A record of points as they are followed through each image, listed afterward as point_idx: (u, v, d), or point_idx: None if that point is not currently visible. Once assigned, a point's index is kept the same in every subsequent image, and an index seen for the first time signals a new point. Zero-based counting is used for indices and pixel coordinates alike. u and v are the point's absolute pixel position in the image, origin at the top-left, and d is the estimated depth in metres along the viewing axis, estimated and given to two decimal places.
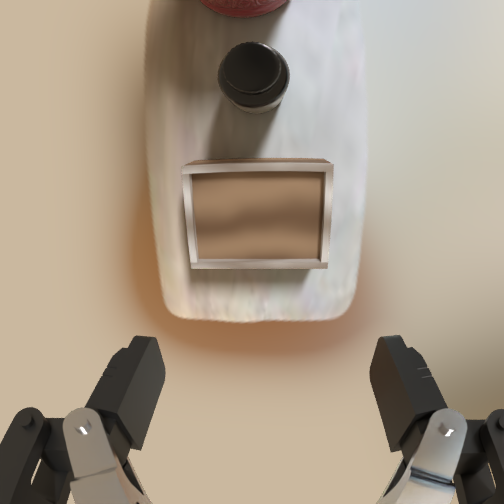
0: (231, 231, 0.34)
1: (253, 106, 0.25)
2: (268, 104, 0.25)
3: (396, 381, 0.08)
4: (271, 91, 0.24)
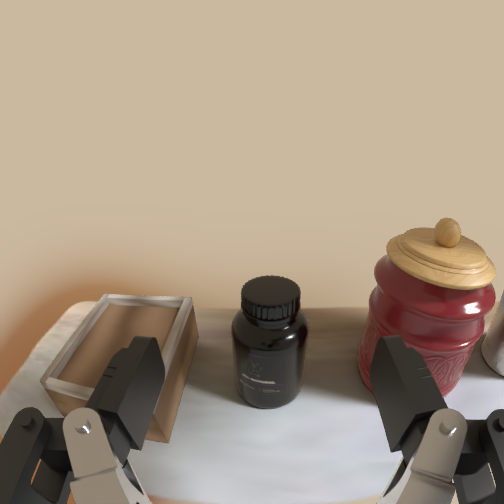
0: (118, 325, 0.30)
1: (232, 321, 0.25)
2: (233, 334, 0.24)
3: (396, 381, 0.08)
4: (246, 326, 0.23)
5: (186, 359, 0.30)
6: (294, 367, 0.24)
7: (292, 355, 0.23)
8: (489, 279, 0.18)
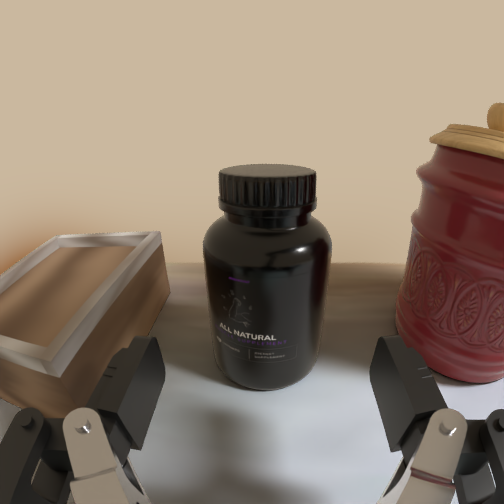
0: (60, 266, 0.21)
1: (206, 234, 0.16)
2: (205, 248, 0.15)
3: (396, 381, 0.08)
4: (226, 229, 0.14)
5: (144, 314, 0.21)
6: (310, 310, 0.14)
7: (306, 282, 0.13)
8: None
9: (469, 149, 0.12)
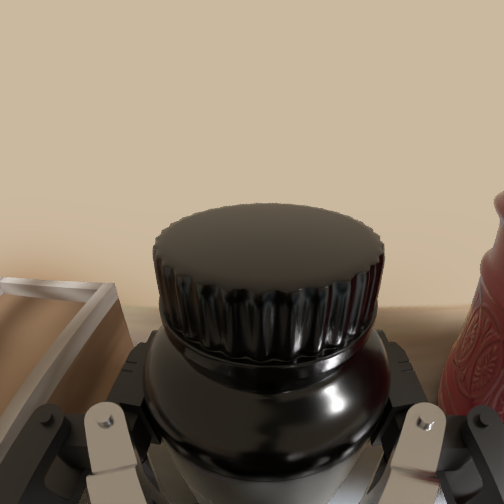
0: None
1: None
2: None
3: None
4: (176, 373, 0.06)
5: None
6: (339, 480, 0.06)
7: (342, 466, 0.05)
8: None
9: None
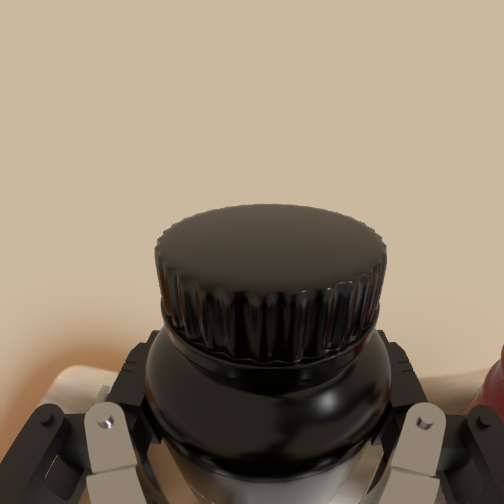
0: None
1: None
2: (145, 388, 0.07)
3: None
4: (178, 374, 0.06)
5: None
6: (340, 481, 0.06)
7: (344, 466, 0.05)
8: None
9: None
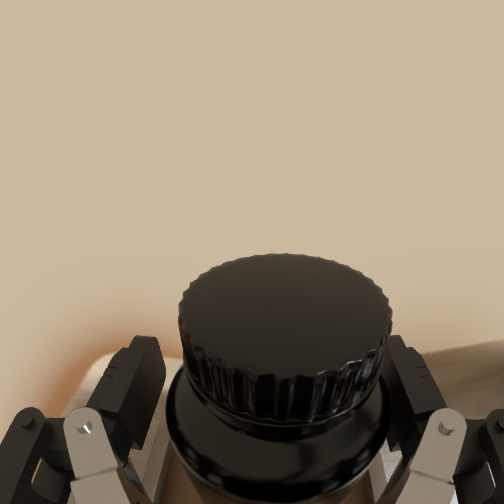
0: None
1: (170, 386, 0.08)
2: (168, 427, 0.07)
3: (395, 381, 0.08)
4: (201, 420, 0.06)
5: None
6: (342, 499, 0.06)
7: (346, 490, 0.06)
8: None
9: None
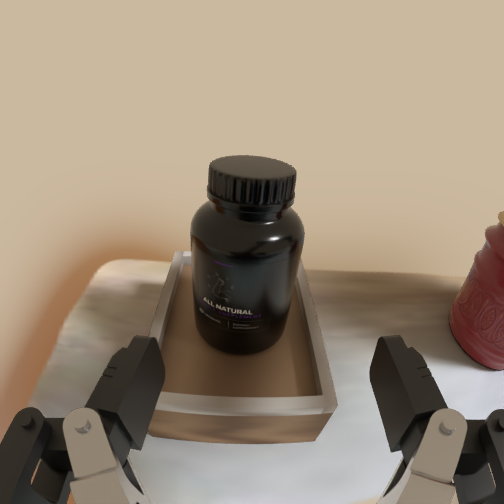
0: None
1: (193, 217, 0.17)
2: (193, 232, 0.16)
3: (396, 381, 0.08)
4: (213, 218, 0.16)
5: None
6: (282, 289, 0.17)
7: (281, 267, 0.16)
8: None
9: None
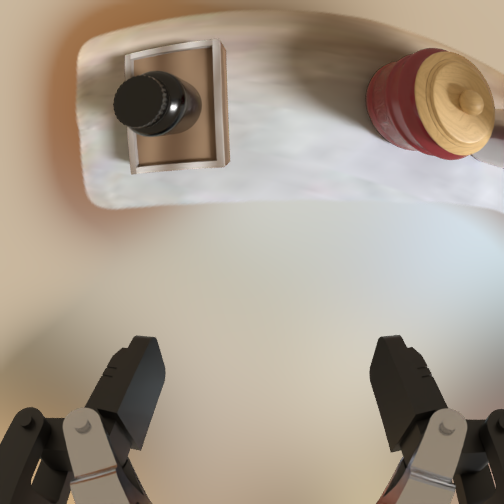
0: None
1: None
2: None
3: (396, 381, 0.08)
4: None
5: (225, 88, 0.34)
6: (181, 126, 0.28)
7: (174, 129, 0.26)
8: (474, 152, 0.23)
9: (419, 115, 0.23)
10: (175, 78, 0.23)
